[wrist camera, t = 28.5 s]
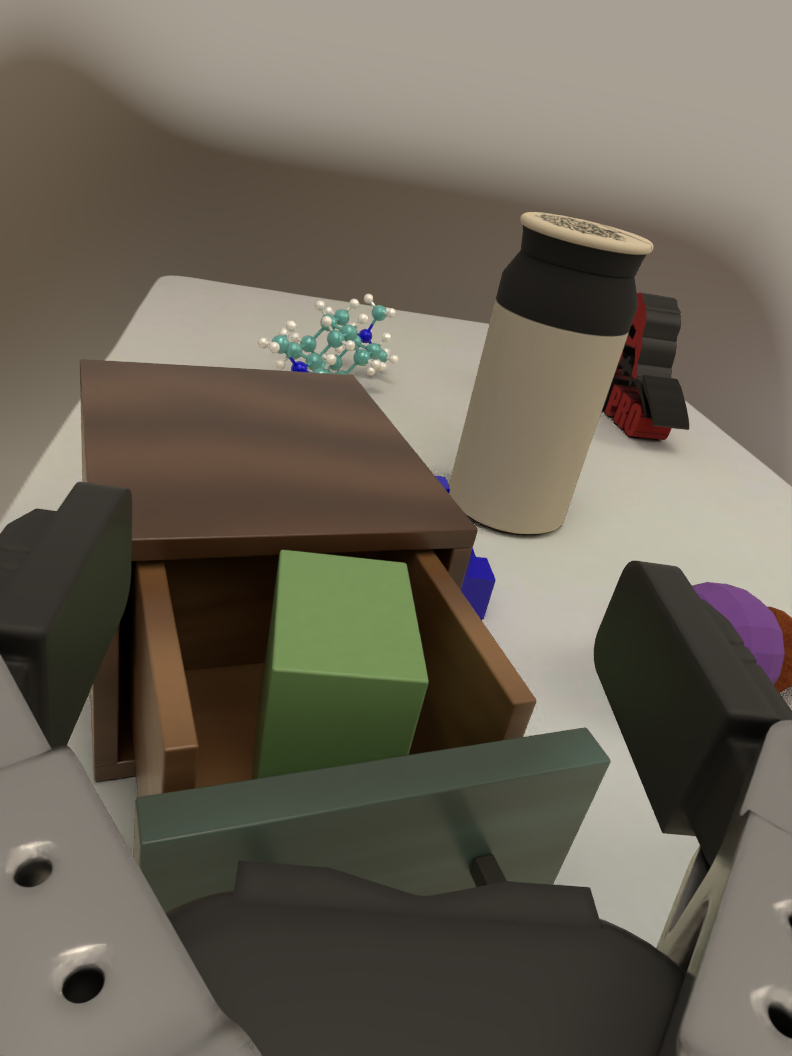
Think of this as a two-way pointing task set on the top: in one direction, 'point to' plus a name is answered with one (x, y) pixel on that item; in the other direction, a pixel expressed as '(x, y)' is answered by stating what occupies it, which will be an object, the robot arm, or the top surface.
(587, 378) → the travel mug
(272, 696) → the green rectangular block
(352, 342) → the molecule model
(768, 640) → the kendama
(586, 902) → the robot arm
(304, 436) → the cabinet
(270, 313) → the top surface
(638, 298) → the extruded letter emblem
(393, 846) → the drawer
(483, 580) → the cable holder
